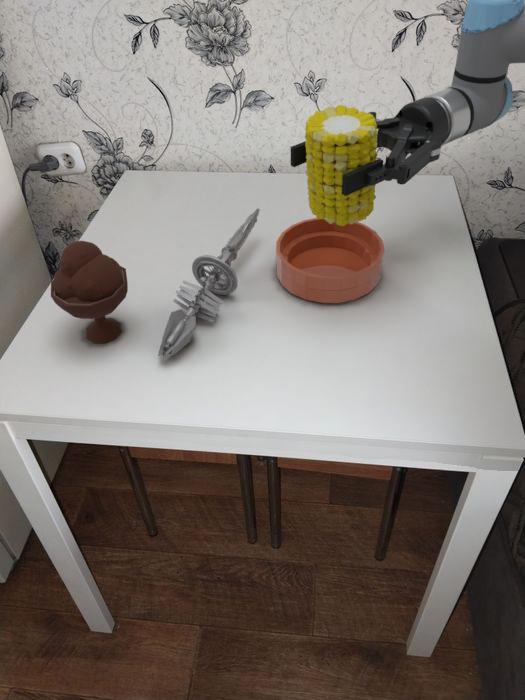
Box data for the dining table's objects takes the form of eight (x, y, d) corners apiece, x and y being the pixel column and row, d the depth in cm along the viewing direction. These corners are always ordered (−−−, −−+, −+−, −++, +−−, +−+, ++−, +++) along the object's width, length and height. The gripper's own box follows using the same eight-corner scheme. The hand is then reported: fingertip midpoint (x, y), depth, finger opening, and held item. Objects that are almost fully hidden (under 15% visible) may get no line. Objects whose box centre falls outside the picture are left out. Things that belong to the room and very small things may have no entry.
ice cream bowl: (53, 346, 88) (21, 264, 78) (95, 302, 95) (70, 221, 85) (113, 364, 85) (88, 281, 75) (152, 316, 92) (134, 234, 82)
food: (383, 218, 87) (334, 247, 83) (329, 174, 91) (279, 200, 87) (412, 129, 74) (356, 158, 70) (348, 83, 79) (291, 108, 75)
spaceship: (284, 204, 100) (243, 182, 100) (192, 354, 80) (140, 326, 80) (271, 235, 106) (232, 214, 106) (182, 381, 86) (134, 356, 86)
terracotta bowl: (398, 265, 100) (403, 237, 96) (344, 320, 90) (347, 291, 86) (314, 233, 108) (315, 206, 104) (256, 280, 98) (254, 253, 94)
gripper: (487, 173, 84) (374, 230, 74) (374, 124, 97) (266, 167, 87) (500, 121, 78) (381, 175, 69) (379, 76, 91) (265, 116, 82)
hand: (317, 170), depth 78 cm, fingers closed on food, 10 cm apart
